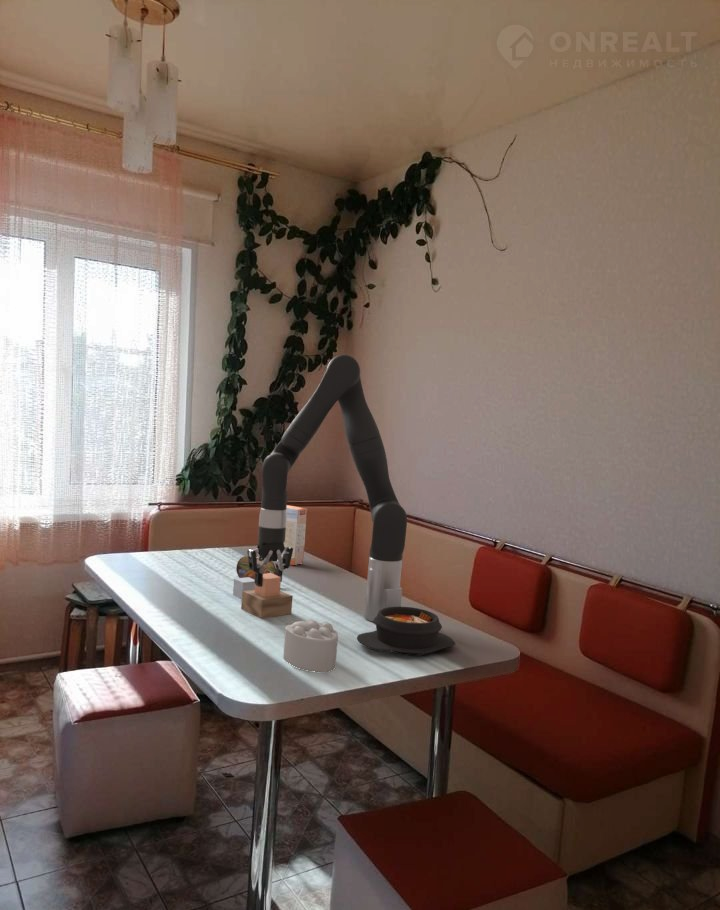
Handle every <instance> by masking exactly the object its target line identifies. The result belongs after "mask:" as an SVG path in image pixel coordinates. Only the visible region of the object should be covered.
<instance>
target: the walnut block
mask: <svg viewBox="0 0 720 910" xmlns="http://www.w3.org/2000/svg"><path fill="white" fill-rule="evenodd" d="M293 597H294V596H293V595H291V594H289V593H286V592H284V591H282V590H280V595H274V596H267V597H264V596H262V595H259V594H257V593H255V590H247V591H242V599H241V607H240V608H241V610H242V611H244V612H246V613H249V614H251V615H254V616H255V617H258V618H259V619H265V618H266V619H268V618H272V617H278V616H285V615H291V614H292V608H293Z"/></svg>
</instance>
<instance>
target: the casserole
mask: <svg viewBox="0 0 720 910" xmlns="http://www.w3.org/2000/svg"><path fill="white" fill-rule="evenodd" d="M374 624H375V627H376V628H375V630H372V631H367V632H362V633H359V634H358V635H357V636H356V640H357V641H358V643H359V644H361V645H362V646H364V647H366V648H368V649H371V650H373V651H380V652H392V653H396V654H401V655H406V654H407V656H413V655H414V656H417V654H418V655H424V654H423V653H425V654H431V653H435V652H438V651H441V650H442V649H448V648H453V647H454V646H455V645H456V642H455V641H454V639H453V638H451V637H450V636H449V635H447V634H445V633H442V632H440V631H441V630H442V629H443V626H442V624H441V622H440V618H439V617H438V615H437V614H436V613H433V612H431V611H429V610H425V609H422V608H416V607H409V606H401V607H388V608H383V609H381V610H380V611H379V612H378V614H377V616H376V617H375V618H374Z"/></svg>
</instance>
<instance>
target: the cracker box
mask: <svg viewBox="0 0 720 910" xmlns="http://www.w3.org/2000/svg"><path fill="white" fill-rule="evenodd" d="M307 512H308V508H305V507H300V506H295V505H288V504H287V508H286V514H287V521H286V534H285V542H284V546H285V547H286V546H288V547H291V548H293V552H292V557H291V561H290V566H292V565H296V566H298V565H297V564H300V563H303V564H304V559H305V558H304V554H305V545H306V544H305V543H306V542H305V541H306V528H307V527H306V526H307V518H308V517H307V514H308V513H307ZM281 557H282V558H283V553H282V554H281Z"/></svg>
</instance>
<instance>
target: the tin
mask: <svg viewBox="0 0 720 910" xmlns="http://www.w3.org/2000/svg"><path fill="white" fill-rule="evenodd" d="M258 557H259V556H257V557H256V558H257V559H258ZM262 562H263V560H262ZM275 570H276V568H275V565H274V563H273V561H270V562H268V563H267V566H265V568H264V570H263V572H262V573H263V574H267V573H272V574H275ZM235 571H236V574H237V576H238V578H245V577H249V578H252V579H254V580H255V572H254V571H252V570H249V564H248V555H244V556H242V557H241V558H239V560H238V561H237V563H236V569H235Z"/></svg>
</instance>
